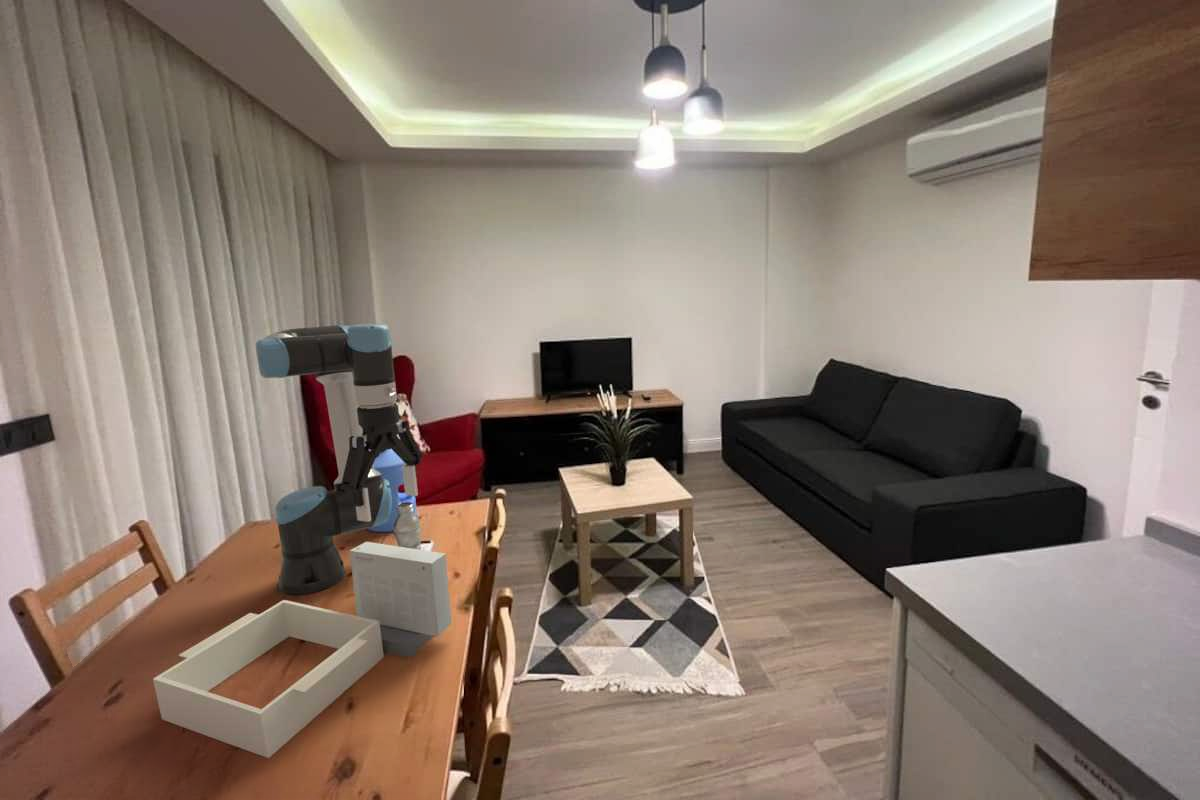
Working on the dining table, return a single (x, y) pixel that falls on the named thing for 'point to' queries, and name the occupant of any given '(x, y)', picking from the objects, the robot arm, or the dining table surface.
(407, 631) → the plate
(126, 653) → the dining table surface
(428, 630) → the skincare box
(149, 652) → the dining table surface
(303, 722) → the tray
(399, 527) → the plastic bottle
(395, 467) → the water jug
